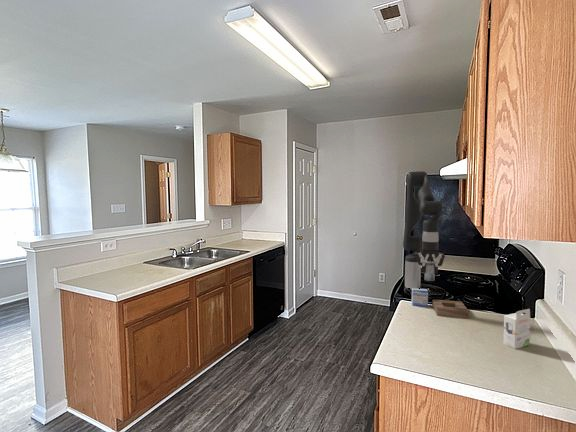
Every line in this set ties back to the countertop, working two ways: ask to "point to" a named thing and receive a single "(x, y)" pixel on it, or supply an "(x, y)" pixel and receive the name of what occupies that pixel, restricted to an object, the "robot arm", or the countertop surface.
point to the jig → (450, 308)
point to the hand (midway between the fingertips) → (429, 273)
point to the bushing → (429, 270)
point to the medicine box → (419, 297)
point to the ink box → (517, 329)
